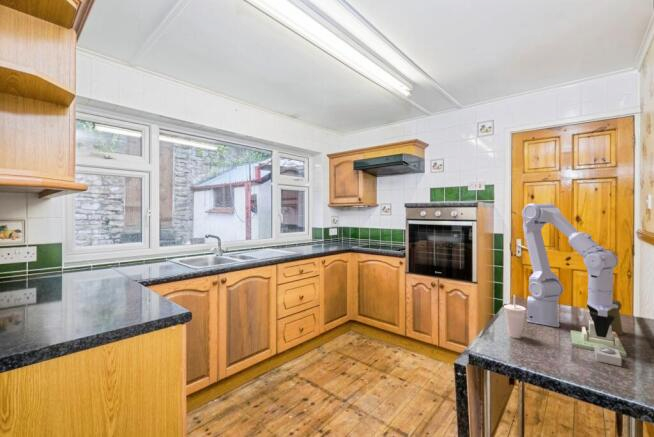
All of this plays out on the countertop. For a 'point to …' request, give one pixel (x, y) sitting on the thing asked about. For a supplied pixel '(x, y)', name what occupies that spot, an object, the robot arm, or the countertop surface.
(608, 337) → the white block
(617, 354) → the fan housing
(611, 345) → the board
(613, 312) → the dark olive bottle
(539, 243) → the robot arm
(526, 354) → the countertop surface
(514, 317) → the smoothie
